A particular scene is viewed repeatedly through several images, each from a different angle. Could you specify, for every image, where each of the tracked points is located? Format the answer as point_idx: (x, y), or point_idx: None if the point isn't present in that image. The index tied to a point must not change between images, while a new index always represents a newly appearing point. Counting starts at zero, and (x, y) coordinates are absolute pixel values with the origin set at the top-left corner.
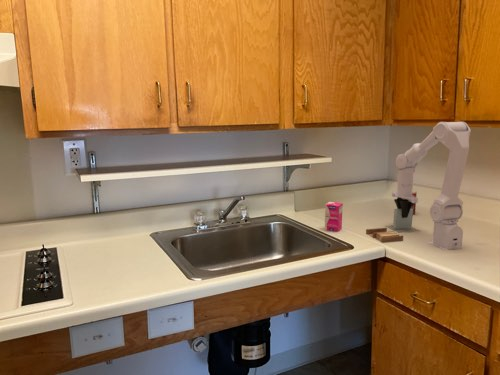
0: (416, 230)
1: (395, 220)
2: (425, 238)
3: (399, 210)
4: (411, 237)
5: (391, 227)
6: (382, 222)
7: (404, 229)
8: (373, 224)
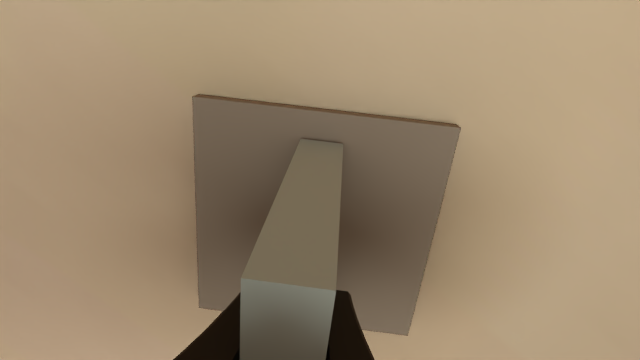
0: (216, 286)
1: (293, 175)
2: (40, 216)
3: (246, 320)
4: (78, 132)
5: (384, 158)
6: (622, 231)
7: None
8: (630, 89)
